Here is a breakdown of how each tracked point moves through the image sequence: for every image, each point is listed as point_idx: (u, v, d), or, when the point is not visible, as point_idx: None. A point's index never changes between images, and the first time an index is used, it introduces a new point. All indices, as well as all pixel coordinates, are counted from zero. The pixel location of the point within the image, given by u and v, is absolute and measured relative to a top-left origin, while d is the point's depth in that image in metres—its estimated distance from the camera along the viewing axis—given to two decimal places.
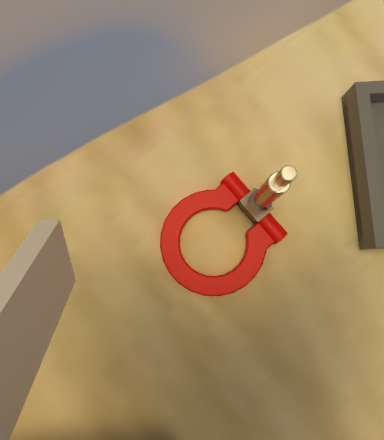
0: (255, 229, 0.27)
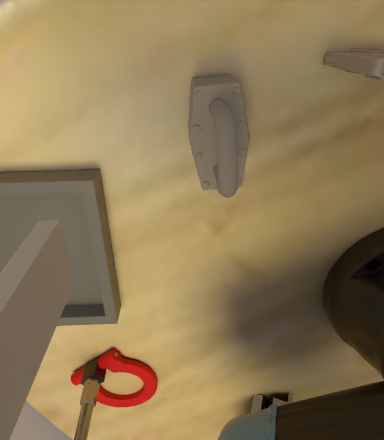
0: (110, 369, 0.39)
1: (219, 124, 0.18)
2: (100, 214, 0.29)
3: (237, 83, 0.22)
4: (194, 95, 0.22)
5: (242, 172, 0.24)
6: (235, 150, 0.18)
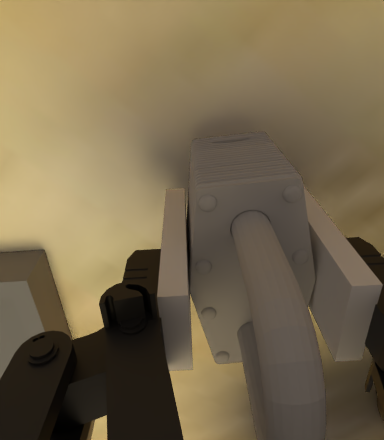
0: None
1: (275, 353, 0.06)
2: (47, 322, 0.18)
3: (297, 178, 0.09)
4: (196, 205, 0.09)
5: None
6: (323, 424, 0.06)
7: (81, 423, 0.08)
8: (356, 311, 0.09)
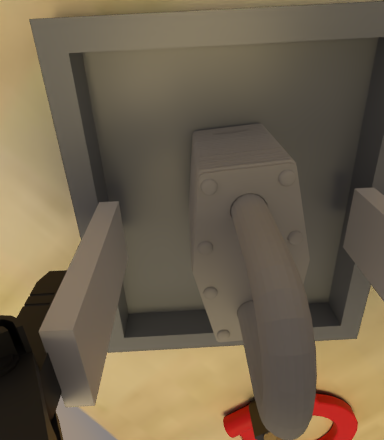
0: None
1: (271, 311, 0.07)
2: None
3: (291, 163, 0.10)
4: (199, 189, 0.10)
5: None
6: (313, 376, 0.07)
7: None
8: None
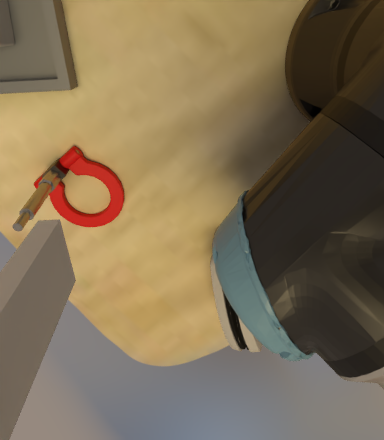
0: (73, 169, 0.38)
1: None
2: None
3: None
4: None
5: None
6: None
7: None
8: None
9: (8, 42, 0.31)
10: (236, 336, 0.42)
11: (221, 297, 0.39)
